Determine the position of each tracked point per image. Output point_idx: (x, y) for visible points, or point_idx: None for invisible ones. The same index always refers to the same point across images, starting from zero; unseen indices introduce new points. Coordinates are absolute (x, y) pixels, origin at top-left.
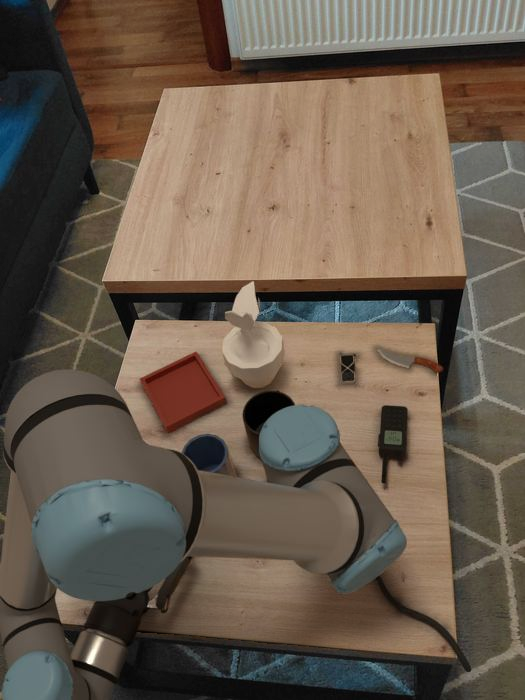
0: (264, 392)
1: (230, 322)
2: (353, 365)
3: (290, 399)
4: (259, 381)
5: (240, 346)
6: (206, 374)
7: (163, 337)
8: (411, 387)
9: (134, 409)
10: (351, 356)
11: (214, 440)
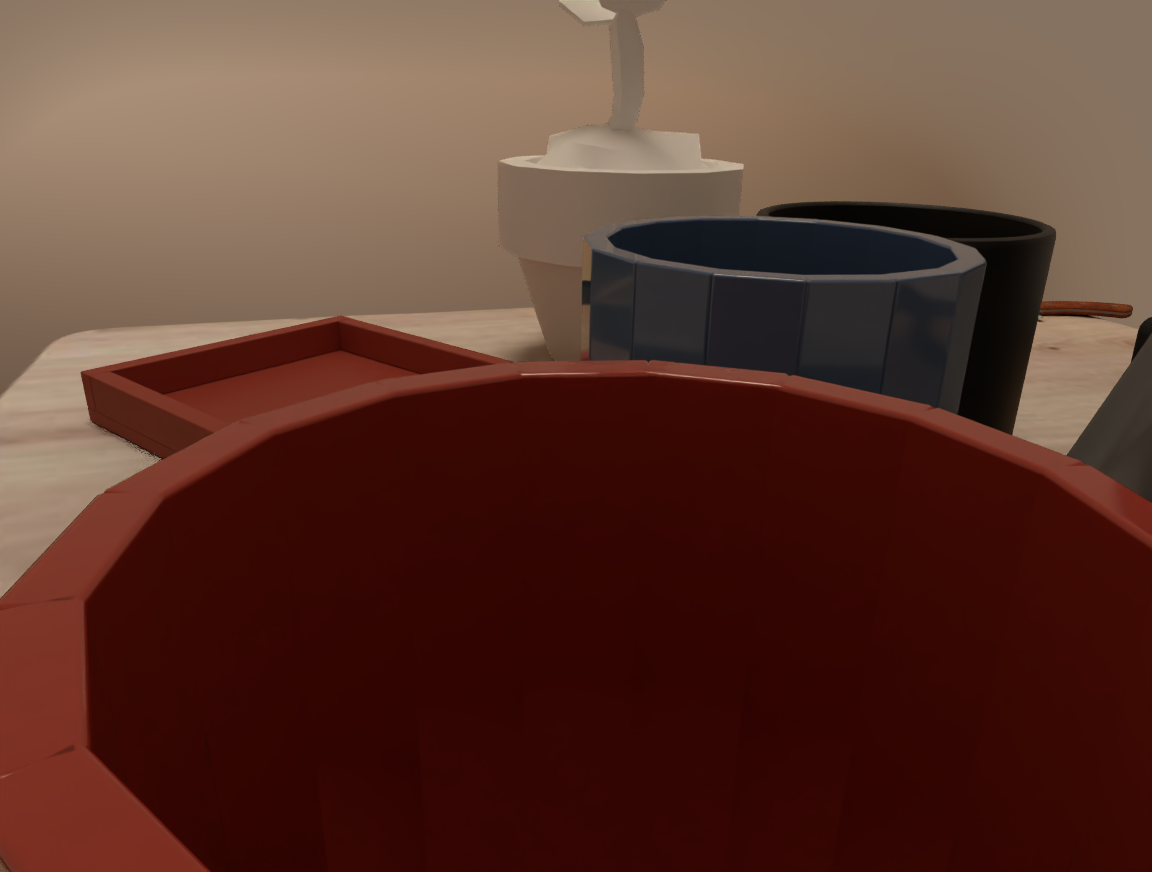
0: (799, 204)
1: None
2: None
3: (931, 205)
4: None
5: (594, 138)
6: (418, 342)
7: (176, 339)
8: (1106, 339)
9: (46, 481)
10: None
11: (742, 261)
